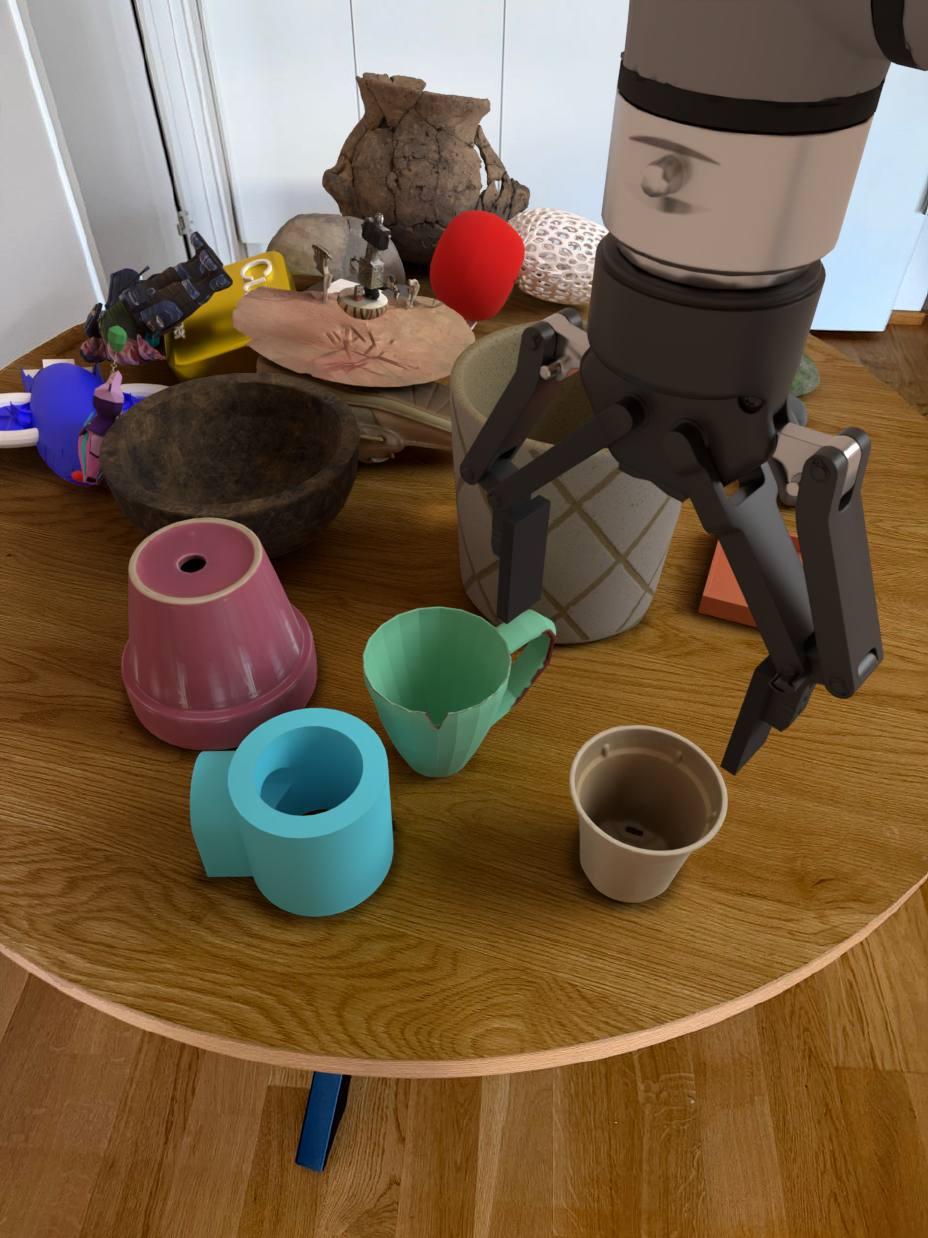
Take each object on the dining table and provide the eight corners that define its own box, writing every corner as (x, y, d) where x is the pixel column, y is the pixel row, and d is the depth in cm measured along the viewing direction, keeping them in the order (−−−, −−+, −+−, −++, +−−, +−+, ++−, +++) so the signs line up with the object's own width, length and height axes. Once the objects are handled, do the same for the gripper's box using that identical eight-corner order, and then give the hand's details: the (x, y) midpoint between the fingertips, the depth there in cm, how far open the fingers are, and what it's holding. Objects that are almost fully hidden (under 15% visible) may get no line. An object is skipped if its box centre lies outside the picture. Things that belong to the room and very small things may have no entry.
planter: (695, 650, 74) (754, 444, 60) (465, 672, 72) (470, 463, 58) (632, 508, 88) (667, 312, 74) (435, 523, 86) (434, 324, 72)
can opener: (737, 403, 101) (748, 362, 98) (795, 406, 101) (808, 365, 98) (766, 508, 88) (780, 465, 84) (833, 512, 88) (849, 468, 84)
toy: (160, 292, 85) (133, 436, 93) (115, 279, 84) (91, 425, 91) (142, 345, 73) (111, 507, 80) (89, 330, 72) (62, 495, 79)
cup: (199, 919, 57) (169, 840, 51) (223, 792, 64) (199, 709, 57) (391, 915, 57) (385, 837, 51) (395, 790, 64) (390, 707, 58)
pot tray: (844, 564, 82) (851, 547, 81) (834, 648, 75) (842, 630, 73) (719, 534, 85) (724, 517, 84) (697, 612, 78) (702, 595, 76)
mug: (417, 831, 62) (413, 739, 55) (345, 736, 67) (334, 642, 60) (582, 736, 68) (598, 642, 61) (504, 656, 74) (510, 562, 67)
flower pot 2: (680, 798, 64) (705, 720, 58) (715, 924, 57) (747, 851, 51) (548, 805, 63) (559, 726, 57) (567, 932, 57) (582, 859, 51)
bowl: (243, 648, 73) (222, 553, 66) (77, 541, 83) (43, 448, 76) (414, 517, 86) (412, 426, 79) (254, 436, 95) (239, 348, 88)
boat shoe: (510, 399, 93) (492, 470, 97) (279, 337, 94) (272, 410, 98) (496, 427, 85) (478, 503, 89) (246, 359, 86) (239, 436, 91)
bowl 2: (414, 227, 121) (407, 291, 124) (281, 207, 120) (277, 272, 123) (408, 221, 104) (400, 295, 107) (253, 198, 103) (250, 273, 106)
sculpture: (509, 327, 100) (537, 183, 89) (406, 442, 85) (424, 285, 73) (314, 252, 105) (316, 106, 93) (182, 348, 90) (165, 187, 78)
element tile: (175, 315, 109) (156, 282, 105) (293, 275, 109) (279, 241, 105) (184, 399, 101) (164, 367, 97) (312, 356, 101) (297, 322, 96)
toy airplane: (-71, 465, 79) (-57, 514, 82) (221, 443, 88) (223, 488, 92) (-66, 342, 95) (-55, 388, 98) (181, 334, 104) (184, 376, 107)
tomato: (467, 173, 102) (550, 215, 103) (443, 241, 113) (519, 278, 114) (430, 251, 98) (518, 294, 99) (409, 314, 109) (488, 352, 110)
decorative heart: (568, 322, 108) (631, 319, 121) (595, 227, 102) (658, 235, 116) (450, 277, 115) (521, 278, 128) (470, 187, 110) (542, 198, 123)
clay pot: (285, 235, 121) (303, 49, 111) (392, 238, 140) (416, 78, 129) (436, 284, 111) (471, 84, 101) (529, 280, 130) (567, 111, 119)
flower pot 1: (289, 632, 57) (308, 754, 66) (312, 496, 67) (326, 619, 76) (60, 629, 57) (110, 753, 66) (117, 493, 67) (154, 617, 76)
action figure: (214, 266, 88) (72, 382, 90) (256, 316, 93) (121, 425, 95) (172, 194, 101) (49, 296, 102) (211, 241, 106) (93, 338, 108)
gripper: (371, 172, 34) (393, 590, 49) (1071, 438, 22) (816, 887, 37) (505, 128, 38) (487, 528, 53) (1162, 333, 26) (898, 777, 41)
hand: (622, 676), depth 45 cm, fingers open, 13 cm apart
